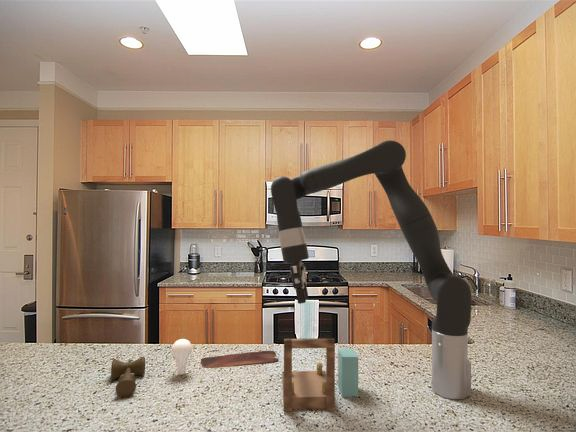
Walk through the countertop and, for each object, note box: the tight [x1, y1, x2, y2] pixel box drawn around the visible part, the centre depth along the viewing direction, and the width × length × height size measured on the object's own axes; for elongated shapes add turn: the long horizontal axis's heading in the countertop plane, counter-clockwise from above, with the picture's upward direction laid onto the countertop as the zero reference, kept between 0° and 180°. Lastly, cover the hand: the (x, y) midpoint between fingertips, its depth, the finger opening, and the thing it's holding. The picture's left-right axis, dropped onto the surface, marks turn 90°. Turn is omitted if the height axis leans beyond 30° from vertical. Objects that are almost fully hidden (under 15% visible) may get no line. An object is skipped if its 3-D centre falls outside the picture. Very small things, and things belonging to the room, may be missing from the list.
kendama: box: [110, 356, 146, 398], centre depth 102 cm, size 6×10×20 cm
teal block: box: [337, 348, 359, 398], centre depth 97 cm, size 4×6×11 cm
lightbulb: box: [171, 338, 193, 376], centre depth 107 cm, size 6×6×11 cm
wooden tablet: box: [200, 350, 279, 369], centre depth 118 cm, size 26×2×10 cm
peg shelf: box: [281, 337, 336, 413], centre depth 95 cm, size 13×16×18 cm
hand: (303, 300), depth 97 cm, fingers open, 8 cm apart
